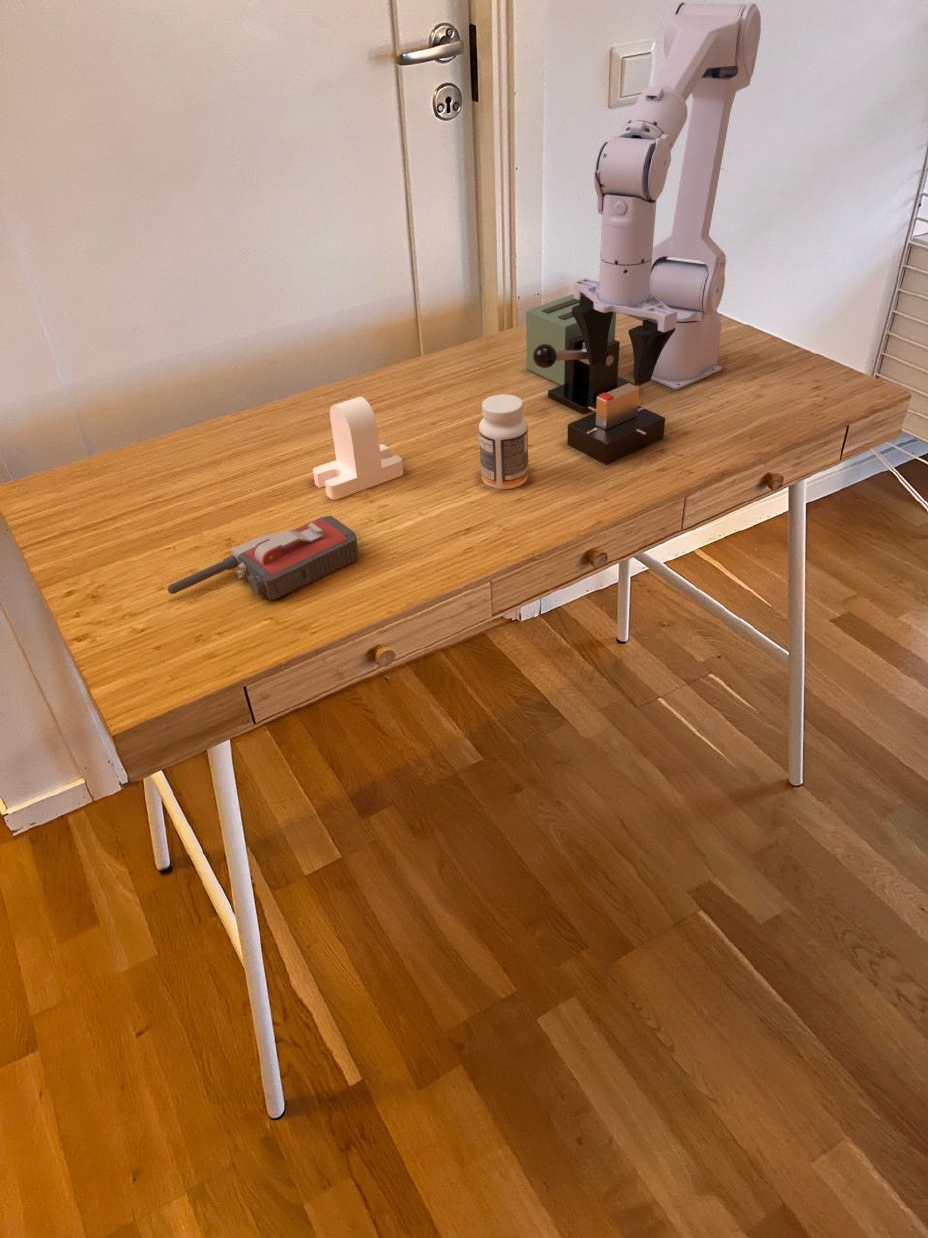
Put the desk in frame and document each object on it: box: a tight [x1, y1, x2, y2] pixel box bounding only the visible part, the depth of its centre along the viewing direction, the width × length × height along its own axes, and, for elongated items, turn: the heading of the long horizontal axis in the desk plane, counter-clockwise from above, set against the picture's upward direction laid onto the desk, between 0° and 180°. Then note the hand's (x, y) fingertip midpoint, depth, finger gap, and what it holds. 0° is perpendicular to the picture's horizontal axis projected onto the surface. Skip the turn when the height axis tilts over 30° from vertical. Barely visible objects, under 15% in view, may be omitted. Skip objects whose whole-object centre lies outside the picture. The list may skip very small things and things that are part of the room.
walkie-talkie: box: [167, 515, 360, 600], centre depth 100 cm, size 9×4×20 cm
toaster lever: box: [533, 343, 590, 368], centre depth 125 cm, size 12×3×3 cm, turn 127°
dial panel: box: [566, 405, 666, 466], centre depth 120 cm, size 10×10×3 cm
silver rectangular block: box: [596, 383, 640, 430], centre depth 117 cm, size 6×2×4 cm, turn 128°
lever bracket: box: [547, 336, 638, 416], centre depth 129 cm, size 10×7×8 cm
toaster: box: [525, 293, 617, 386], centre depth 135 cm, size 10×8×9 cm
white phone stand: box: [312, 396, 404, 501], centre depth 113 cm, size 5×10×10 cm, turn 123°
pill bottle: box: [478, 393, 529, 490], centre depth 112 cm, size 6×6×10 cm
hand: (619, 372), depth 115 cm, fingers open, 7 cm apart
